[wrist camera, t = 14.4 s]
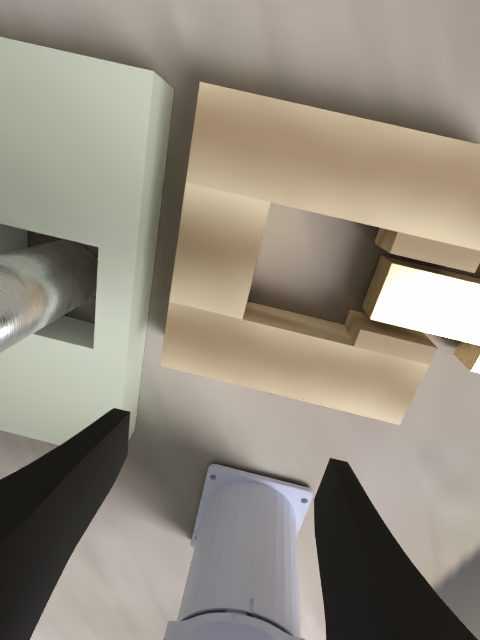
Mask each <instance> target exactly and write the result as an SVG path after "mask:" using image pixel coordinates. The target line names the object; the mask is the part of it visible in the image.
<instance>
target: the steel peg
mask: <svg viewBox="0 0 480 640" xmlns="http://www.w3.org/2000/svg"><path fill="white" fill-rule="evenodd" d="M97 269H98V260H97V259H96V257H95V256H94V254H93V253H92V252H91V251H90V250H89V249H88V248H87V247H85V246H84V245H82V244H81V243H79V242H75V241H70V240H66V239H63V240H57V241H53V242H49V243H45V244H41V245H37V246H33V247H29V248H25V249H21V250H17V251H13V252H9V253H5V254H1V255H0V353H1V352H3V351H5V350H6V349H8V348H10V347H11V346H13V345H15V344H16V343H18V342H20V341H21V340H23V339H25V338H26V337H28V336H30V335H31V334H33V333H35V332H36V331H38V330H40V329H41V328H43V327H45V326H46V325H48V324H50V323H51V322H53V321H55V320H56V319H58V318H60V317H61V316H63V315H65V314H66V313H68V312H70V311H71V310H73V309H75V308H76V307H78V306H80V305H81V304H83V303H85V302H86V301H88V300H90V299H91V298H93V297H94V296H95V295H96V289H97Z"/></svg>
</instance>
